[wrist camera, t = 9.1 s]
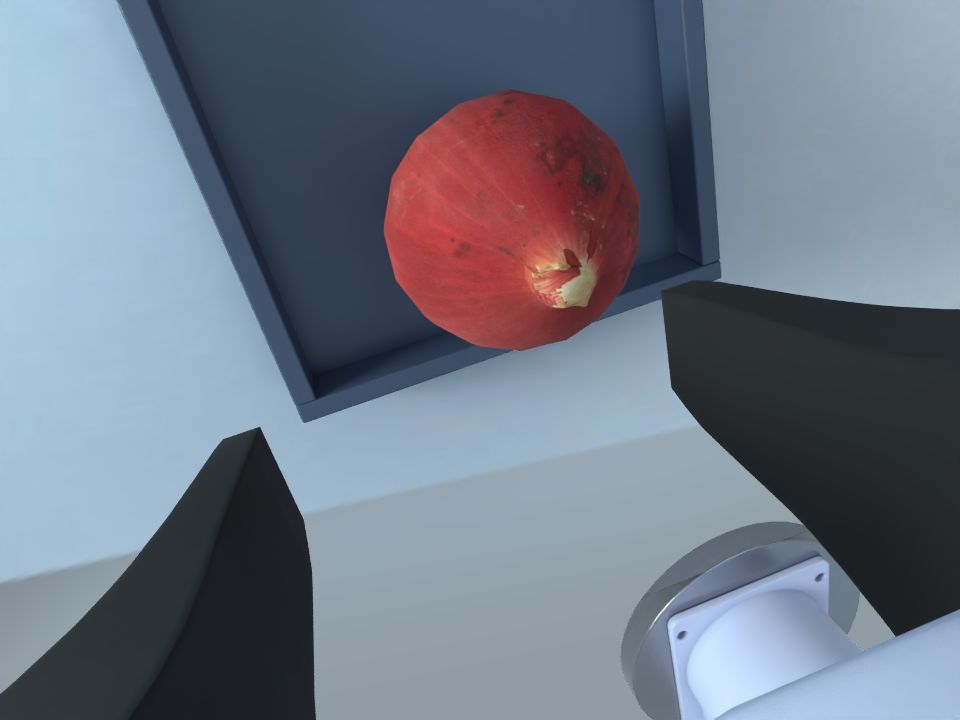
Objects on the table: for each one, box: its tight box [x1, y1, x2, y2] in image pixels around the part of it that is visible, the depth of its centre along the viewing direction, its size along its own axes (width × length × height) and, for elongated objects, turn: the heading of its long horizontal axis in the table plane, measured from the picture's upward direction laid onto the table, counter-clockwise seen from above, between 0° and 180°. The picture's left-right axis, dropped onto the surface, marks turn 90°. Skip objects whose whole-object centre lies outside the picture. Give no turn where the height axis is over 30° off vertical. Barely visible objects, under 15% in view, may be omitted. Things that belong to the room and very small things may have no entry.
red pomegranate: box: [384, 89, 640, 351], centre depth 16 cm, size 6×6×8 cm
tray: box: [116, 0, 721, 423], centre depth 17 cm, size 15×13×2 cm
